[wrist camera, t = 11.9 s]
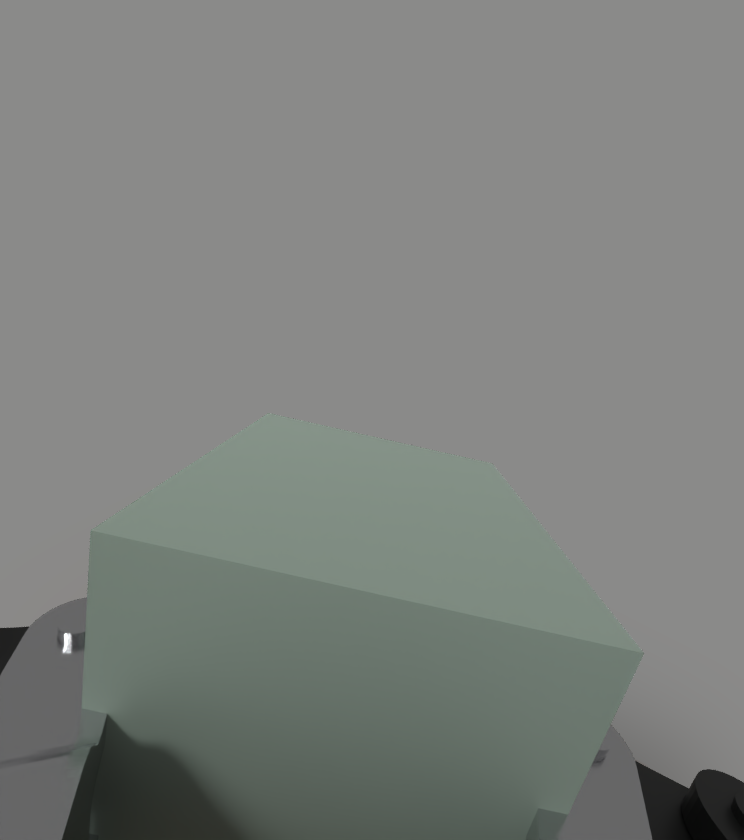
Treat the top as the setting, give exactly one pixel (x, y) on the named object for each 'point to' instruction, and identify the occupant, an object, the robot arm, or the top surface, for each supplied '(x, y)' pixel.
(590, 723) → the sage block
